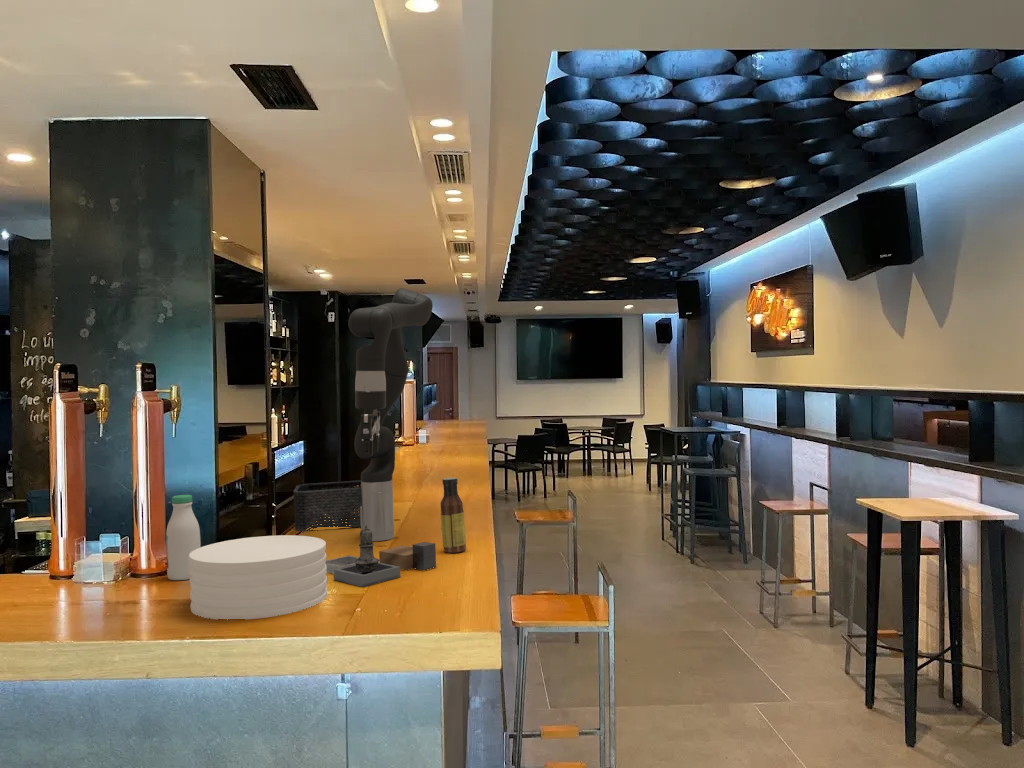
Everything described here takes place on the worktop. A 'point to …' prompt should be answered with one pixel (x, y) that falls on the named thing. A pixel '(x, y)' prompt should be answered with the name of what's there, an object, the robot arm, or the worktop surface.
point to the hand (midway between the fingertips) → (370, 454)
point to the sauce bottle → (452, 518)
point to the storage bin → (327, 505)
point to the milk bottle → (181, 538)
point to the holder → (340, 563)
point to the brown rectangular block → (398, 557)
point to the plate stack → (257, 577)
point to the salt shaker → (366, 553)
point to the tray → (366, 575)
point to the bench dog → (424, 555)
